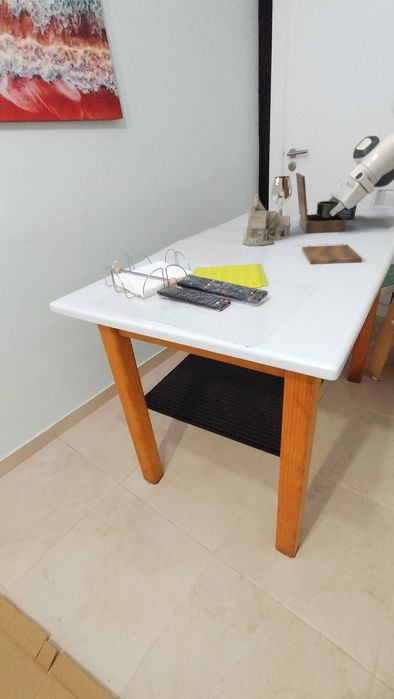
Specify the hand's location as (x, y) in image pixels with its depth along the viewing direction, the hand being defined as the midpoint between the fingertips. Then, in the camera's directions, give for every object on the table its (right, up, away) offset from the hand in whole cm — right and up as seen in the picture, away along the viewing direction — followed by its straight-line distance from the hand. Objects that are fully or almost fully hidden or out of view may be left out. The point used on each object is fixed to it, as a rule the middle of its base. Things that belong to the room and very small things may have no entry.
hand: (327, 211), depth 123 cm
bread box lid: (-10, +4, -2) cm, 11 cm away
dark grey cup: (0, -5, +3) cm, 6 cm away
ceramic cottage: (-23, -11, -2) cm, 26 cm away
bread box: (-1, -6, +3) cm, 7 cm away
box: (+12, +2, +14) cm, 18 cm away
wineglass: (-14, -1, +13) cm, 20 cm away
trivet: (-8, -22, -21) cm, 32 cm away
